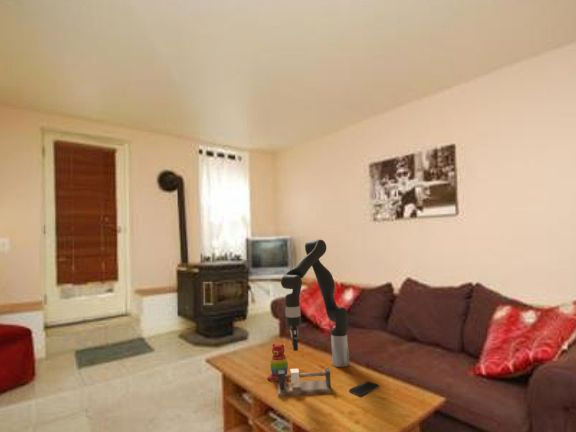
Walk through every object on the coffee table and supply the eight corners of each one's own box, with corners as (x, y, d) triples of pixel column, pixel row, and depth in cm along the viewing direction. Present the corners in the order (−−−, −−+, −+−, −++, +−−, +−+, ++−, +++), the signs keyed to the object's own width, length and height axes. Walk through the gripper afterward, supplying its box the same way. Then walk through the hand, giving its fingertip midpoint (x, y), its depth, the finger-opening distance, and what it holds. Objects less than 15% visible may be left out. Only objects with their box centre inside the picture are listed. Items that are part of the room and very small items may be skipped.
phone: (347, 390, 168) (367, 380, 178) (348, 392, 168) (367, 383, 178) (360, 395, 162) (380, 385, 172) (361, 398, 162) (380, 387, 172)
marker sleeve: (298, 378, 175) (298, 368, 175) (299, 382, 170) (299, 372, 170) (290, 379, 175) (290, 368, 175) (291, 383, 170) (290, 372, 170)
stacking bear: (266, 380, 186) (264, 346, 187) (274, 373, 195) (273, 340, 196) (284, 383, 181) (282, 348, 182) (292, 375, 190) (290, 342, 191)
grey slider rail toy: (328, 382, 179) (327, 364, 180) (332, 393, 167) (331, 373, 168) (277, 386, 178) (277, 367, 178) (278, 397, 166) (277, 377, 166)
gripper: (302, 317, 168) (303, 352, 168) (299, 311, 183) (301, 342, 182) (286, 318, 168) (288, 353, 167) (285, 312, 182) (286, 343, 181)
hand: (295, 347), depth 175 cm, fingers open, 8 cm apart
